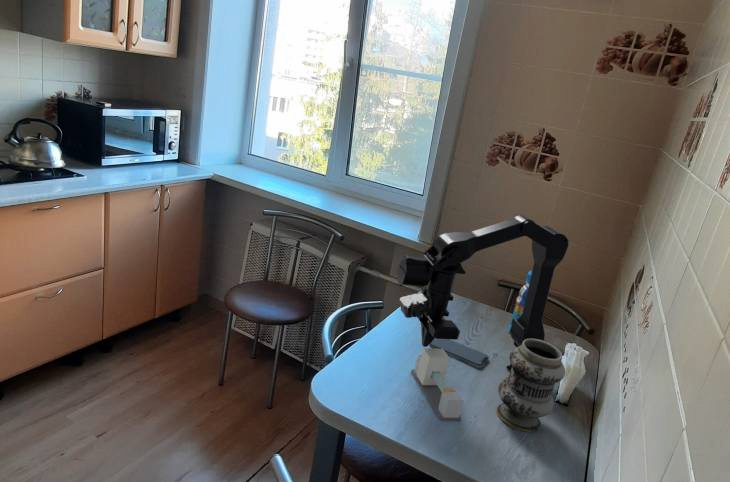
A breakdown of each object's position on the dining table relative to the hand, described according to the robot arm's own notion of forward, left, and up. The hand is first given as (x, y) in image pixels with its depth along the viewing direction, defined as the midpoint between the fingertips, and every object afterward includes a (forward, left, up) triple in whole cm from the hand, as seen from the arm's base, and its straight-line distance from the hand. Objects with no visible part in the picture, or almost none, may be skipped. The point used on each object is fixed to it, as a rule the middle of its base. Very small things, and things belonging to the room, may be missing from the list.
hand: (424, 346), depth 127 cm
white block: (0, +7, -5) cm, 8 cm away
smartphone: (-15, -9, -7) cm, 19 cm away
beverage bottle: (-42, -21, -7) cm, 47 cm away
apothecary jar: (-17, +19, -7) cm, 26 cm away
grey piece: (0, +10, -6) cm, 12 cm away
